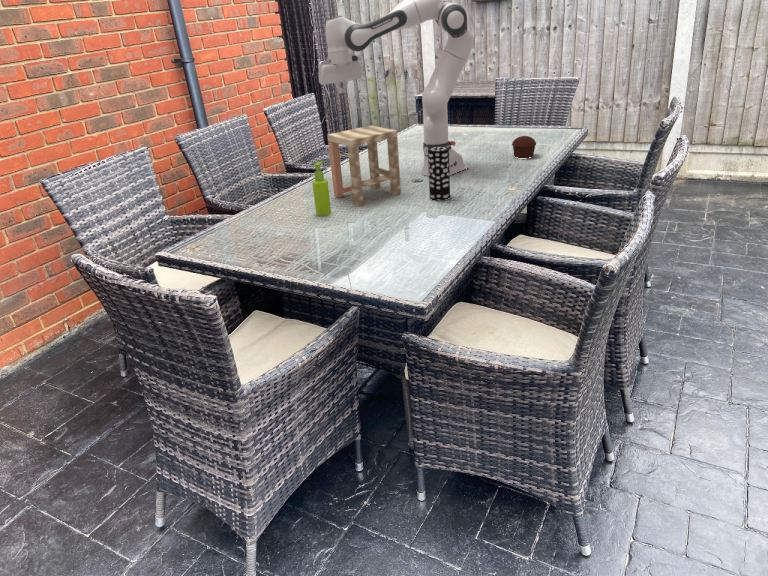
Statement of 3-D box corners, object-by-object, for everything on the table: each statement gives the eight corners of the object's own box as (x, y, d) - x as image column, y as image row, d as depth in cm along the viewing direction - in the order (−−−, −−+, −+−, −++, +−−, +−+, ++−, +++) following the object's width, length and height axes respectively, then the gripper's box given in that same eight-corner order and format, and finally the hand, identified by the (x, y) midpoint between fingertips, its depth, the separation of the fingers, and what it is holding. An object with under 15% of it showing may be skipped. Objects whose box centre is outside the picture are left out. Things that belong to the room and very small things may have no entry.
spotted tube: (449, 201, 234) (448, 151, 225) (428, 201, 236) (426, 151, 227) (451, 194, 241) (450, 146, 232) (431, 194, 243) (429, 146, 234)
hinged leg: (358, 189, 256) (353, 136, 246) (362, 190, 253) (357, 137, 243) (334, 196, 249) (328, 142, 239) (338, 197, 247) (332, 143, 237)
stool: (376, 185, 260) (371, 125, 249) (400, 193, 247) (396, 130, 235) (334, 197, 250) (327, 134, 238) (357, 206, 236) (351, 140, 224)
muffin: (532, 153, 291) (533, 133, 287) (538, 159, 281) (539, 138, 277) (508, 155, 291) (509, 135, 287) (513, 161, 281) (514, 140, 277)
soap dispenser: (334, 210, 234) (328, 160, 225) (327, 216, 228) (321, 165, 219) (321, 209, 236) (315, 160, 227) (313, 215, 230) (307, 165, 221)
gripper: (321, 61, 239) (325, 97, 246) (362, 56, 250) (365, 90, 256) (313, 61, 244) (317, 95, 250) (354, 55, 254) (357, 89, 260)
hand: (342, 92), depth 253 cm, fingers closed
